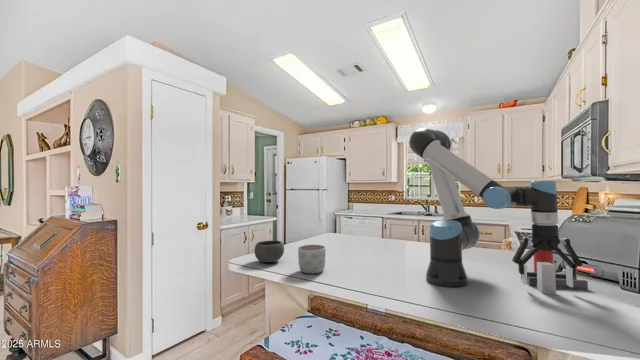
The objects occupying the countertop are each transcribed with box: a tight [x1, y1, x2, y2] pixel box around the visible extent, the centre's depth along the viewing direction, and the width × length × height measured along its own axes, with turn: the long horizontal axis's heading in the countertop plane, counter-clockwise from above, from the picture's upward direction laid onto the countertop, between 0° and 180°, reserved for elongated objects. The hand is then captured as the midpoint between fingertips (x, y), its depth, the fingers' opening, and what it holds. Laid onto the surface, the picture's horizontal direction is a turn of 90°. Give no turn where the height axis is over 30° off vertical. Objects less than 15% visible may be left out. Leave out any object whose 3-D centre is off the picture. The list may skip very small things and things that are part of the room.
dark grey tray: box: [520, 271, 589, 291], centre depth 113 cm, size 18×8×3 cm, turn 75°
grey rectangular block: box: [536, 262, 557, 295], centre depth 105 cm, size 4×4×10 cm
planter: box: [297, 244, 327, 275], centre depth 134 cm, size 12×12×11 cm
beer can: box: [533, 250, 554, 272], centre depth 127 cm, size 7×7×12 cm
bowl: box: [254, 240, 285, 263], centre depth 152 cm, size 15×15×10 cm
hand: (546, 284), depth 105 cm, fingers open, 13 cm apart
